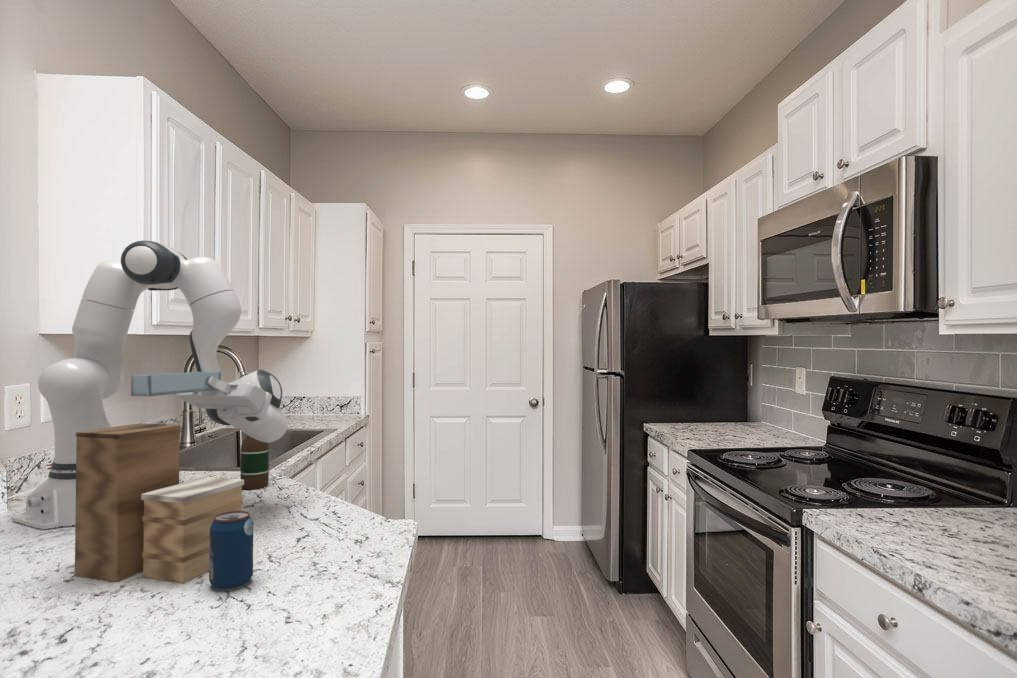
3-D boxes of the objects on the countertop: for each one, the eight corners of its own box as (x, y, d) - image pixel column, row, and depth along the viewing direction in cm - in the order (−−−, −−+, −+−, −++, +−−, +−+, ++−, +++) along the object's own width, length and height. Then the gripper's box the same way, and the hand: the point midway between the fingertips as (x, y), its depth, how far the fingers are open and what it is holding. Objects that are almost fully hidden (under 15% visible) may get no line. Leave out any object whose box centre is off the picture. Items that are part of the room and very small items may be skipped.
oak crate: (140, 577, 103) (141, 493, 103) (204, 550, 117) (205, 476, 117) (183, 583, 100) (183, 497, 100) (243, 555, 114) (244, 479, 114)
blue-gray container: (131, 395, 112) (131, 375, 112) (204, 389, 129) (204, 371, 129) (149, 396, 110) (149, 375, 110) (220, 389, 128) (220, 371, 128)
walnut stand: (73, 575, 104) (75, 432, 104) (138, 551, 116) (139, 423, 117) (117, 582, 101) (119, 434, 101) (179, 556, 113) (180, 425, 114)
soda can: (261, 579, 102) (262, 511, 102) (231, 594, 96) (232, 522, 96) (231, 574, 104) (231, 508, 105) (199, 589, 98) (200, 518, 98)
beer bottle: (258, 491, 166) (258, 408, 166) (234, 489, 167) (235, 407, 168) (274, 484, 174) (274, 405, 174) (251, 483, 175) (251, 405, 176)
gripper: (207, 393, 140) (166, 366, 129) (278, 394, 134) (240, 367, 123) (197, 417, 137) (153, 391, 126) (268, 419, 131) (229, 393, 120)
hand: (197, 379), depth 124 cm, fingers closed on blue-gray container, 4 cm apart
